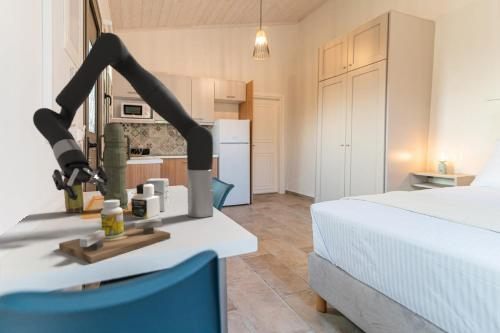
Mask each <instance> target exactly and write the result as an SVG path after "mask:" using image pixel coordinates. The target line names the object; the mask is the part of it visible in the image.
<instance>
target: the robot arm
mask: <svg viewBox="0 0 500 333" xmlns="http://www.w3.org/2000/svg"><path fill="white" fill-rule="evenodd" d="M108 66H110V67H111V68H112V69H113V70H115V71H116V72H117V73H119V75H120V76H122V77H123V78H124V79H125V80H126V81H127V82H128V83H129V84H130V86H131V87H132V89H133V90H134V92H135V93H136V94H137V95H138V96H139V97H140V98H141V100H142V101H143V102H145V104H147V106H148V107H150V109H151V110H153V112H155V113H156V114H157V115H158V116H159V117H161V118H162V119H164V121H166V122H167V123H168V124H169V125H170V126H172V127H173V128H174V129H175V130H176V132H178V133H179V134H180V135H181V137H183V139H184V141H185V142H186V167H187V168H186V169H187V170H186V171H187V216H188V217H190V218H207V217H213V216H214V189H213V187H214V186H213V163H214V137H213V133H212V131H211V130H210V128H208V127H206V126H205V125H201V124H200V123H198V122H197V120H195V119H194V118H193V117H191V115H190V114H189V113H188V112H187V111H186V110H185V108H184V107H183V105H182V104H181V102H180V101H179V100H178V98H177V97H176V96H175V95H174V93H173V92H172V91H171V90H170V89H169V87H167V86H166V85H165V84H164V83H163V82H162V80H159V78H157V77H156V76H154V74H152V73H151V72H149V71H148V70H146V69H145V68H144V67H143V65H141V64H140V63H139V62H138V61H137V60H136V58H135V57H134V56H133V55H132V54H131V52H130V51H129V50H128V48H127V46H126V45H125V43H124V42H123V41H122V38H120V37H119V36H118V35H117V34H116V33H112V32H103V33H101V34H100V35H99V36H98V37H97V38H96V39H95V41H94V43H93V44H92V46H91V48H90V50H89V52H88V53H87V55H86V57H85V59H84V60H83V62H82V63H81V65H80V67H79V68H78V70H77V71H76V72H75V73H74V75H73V76H72V78H71V79H70V80H69V81H68V83H67V84H66V85H65V86H64V87H63V88H62V90H60V92H59V93H58V95H57V96H56V97H55V103H56V104H57V105H58V106H59V107H60V112H57V111H55V110H53V109H51V108H48V107H42V108H39V109H36V111H34V114H33V116H32V121H33V125H34V127H35V129H37V131H38V132H39V133H40V134H41V135H42V136H43V138H44V139H46V140H47V142H48V144H49V145H50V148H51V150H52V152H53V156H54V158H55V160H56V162H57V164H58V167H59V168H60V170H59V169H57V168H56V169H54V171H53V173H52V176H51V177H52V179H53V182H54V184H55V188H56V190H57V191H62V190H63V191H64V190H65V191H67V193H68V196H69V198H71V199H72V200H76V199H77V197H78V195H77V193H76V191H75V189H74V187H73V186H72V184H73V182H74V183H76V184H78V183H82V184H83V183H84V184H86V183H89V184H90V185H94V186H96V187H97V189H98V190H99V193H100V195H101V197H104V196H105V195H106V193H107V191H108V190H107V188H106V186H105V185H106V183H107V181H108V177H107V176H106V174H105V171H104V168H102V166H97V167H96V168H92V167H91V166H90V164H89V160H88V159H87V158H86V156H85V154H84V152H83V150H82V147H80V145H79V144H78V143H77V141H76V139H75V138H74V135H73V134H72V132H71V131H69V129H70V128H71V126H72V124H73V121H74V119H75V117H76V114H77V112H78V110H79V108H80V107H81V106H82V105H83V104H84V102H86V100H87V99H88V97H89V96H90V95H91V93H92V91H93V89H94V87H95V85H96V83H97V81H98V79H99V78H100V75H101V74H102V73H103V72H104V70H105V69H106V68H108ZM63 177H64V178H67V179H69V181H68V183H67V184H66V183H64V178H63ZM91 178H92V179H91Z"/></svg>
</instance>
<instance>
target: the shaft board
mask: <svg viewBox="0 0 500 333" xmlns="http://www.w3.org/2000/svg"><path fill="white" fill-rule="evenodd" d="M162 222H163V221H162V219H161V218H157V219H149V220H148V219H145V220H139V221H138V220H136V221H134V224H133V225H128V226H125V227H124V226H123V227H124V234H123V235H122V236H120V237H117V238H105V230H102V229H101V230H100V229H98V230H96V231H94V232H91V233H89V234H88V235H85V236H82V237H79V238H75V239H72V240H67V241H62V242H59V243H58V245H59V246H58V247H59V250H60V251H63V252H65V253H67V254H69V255H71V256H73V257H76V258H79V259H80V260H82V261H85V262H86V263H89V264H95V263H97V262H98V263H99V262H101V261H104V260H107V259H110V258H113V257H116V256H119V255H124V254H127V253H129V252H132V251H135V250H136V251H137V250H138V249H141V248H145V247H147V246H151V245H154V244H157V243H161V242H163V241H165V239H167V240H169V239H168V238H170V239H171V232H168V231H165V230H160V229H156V228H162ZM156 242H157V243H156Z"/></svg>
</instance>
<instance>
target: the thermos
mask: <svg viewBox="0 0 500 333" xmlns="http://www.w3.org/2000/svg"><path fill="white" fill-rule="evenodd" d="M102 138H103V143H104V144H103V145H104V146H103V151H102ZM125 138H126V144H127V145H126V146H127V148H125ZM125 149H127V151H126V150H125ZM97 150H98V151H97V154H98V160H99V161H100V162H102V167H103V171H104V172H105V174H106V176H107V177H108V181H107V183H106V185H105V186H106V188H107V190H108V191H107V193H106V195H105V196H103V201H106V200H120V205H119V207H120V208H122V209H126V208H129V207H128V203H129V196H128V194H129V193H128V191H127V174H126V173H127V172H126V168H127V166H128V164H127V162H128V161H131V156H132V155H131V137H130V136H129V135H127V134H125V130H124V127H123V124H121V123H119V122H108V123H105V125H104V128H103V134H100V135H99V137H98V138H97ZM126 210H127V209H126Z"/></svg>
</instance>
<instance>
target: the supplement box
mask: <svg viewBox="0 0 500 333" xmlns="http://www.w3.org/2000/svg"><path fill="white" fill-rule="evenodd" d="M169 180H170V179H169V178H148V179H146V180H145V184H153V185H154V195H153V196H159V208H160V212H162V213H163V212H166V211H167V210H168V209H169V205H170V204H169V203H170V202H169V200H170V199H169V198H170V196H169V193H170V191H169V189H170V188H169V182H170V181H169Z"/></svg>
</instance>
